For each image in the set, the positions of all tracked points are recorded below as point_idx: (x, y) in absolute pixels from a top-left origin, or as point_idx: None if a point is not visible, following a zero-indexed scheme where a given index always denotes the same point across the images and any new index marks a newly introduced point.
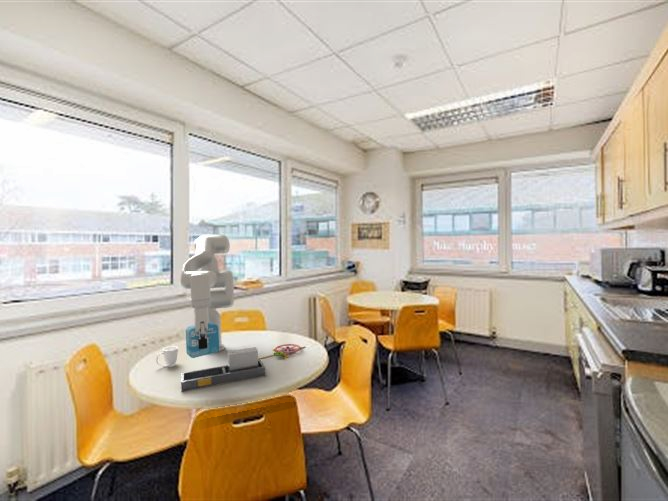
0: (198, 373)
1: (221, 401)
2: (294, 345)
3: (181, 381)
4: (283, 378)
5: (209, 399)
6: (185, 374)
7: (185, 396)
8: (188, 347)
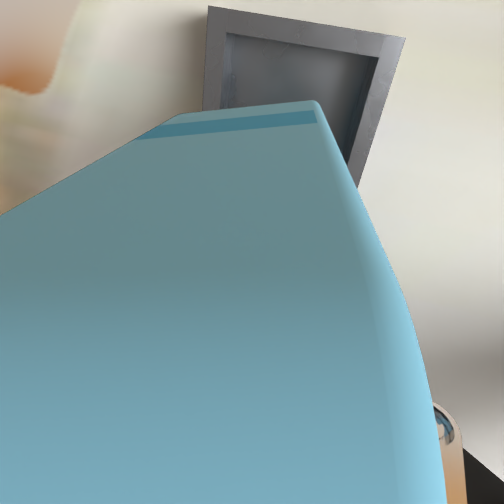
0: (344, 159)
1: (26, 181)
2: None
3: (222, 10)
4: None
5: (61, 141)
6: (373, 70)
7: (143, 26)
8: (175, 130)
